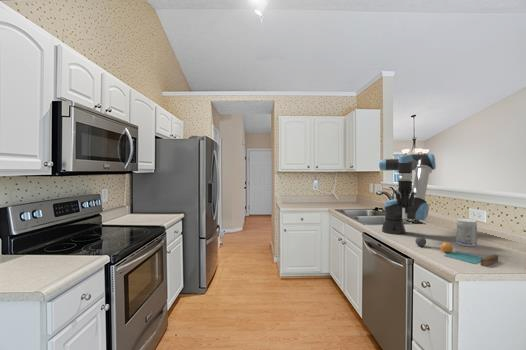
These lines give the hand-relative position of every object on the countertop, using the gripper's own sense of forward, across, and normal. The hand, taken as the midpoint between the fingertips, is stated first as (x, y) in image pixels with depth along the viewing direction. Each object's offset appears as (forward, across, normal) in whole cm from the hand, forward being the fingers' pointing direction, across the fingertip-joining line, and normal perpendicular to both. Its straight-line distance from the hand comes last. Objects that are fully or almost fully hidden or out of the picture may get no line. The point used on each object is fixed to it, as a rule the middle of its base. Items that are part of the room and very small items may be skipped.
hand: (404, 218), depth 166 cm
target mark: (+15, +33, 0) cm, 36 cm away
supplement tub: (+15, +22, +26) cm, 37 cm away
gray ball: (+12, +10, 0) cm, 16 cm away
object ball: (+12, +24, 0) cm, 27 cm away
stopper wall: (+15, +43, 0) cm, 45 cm away
